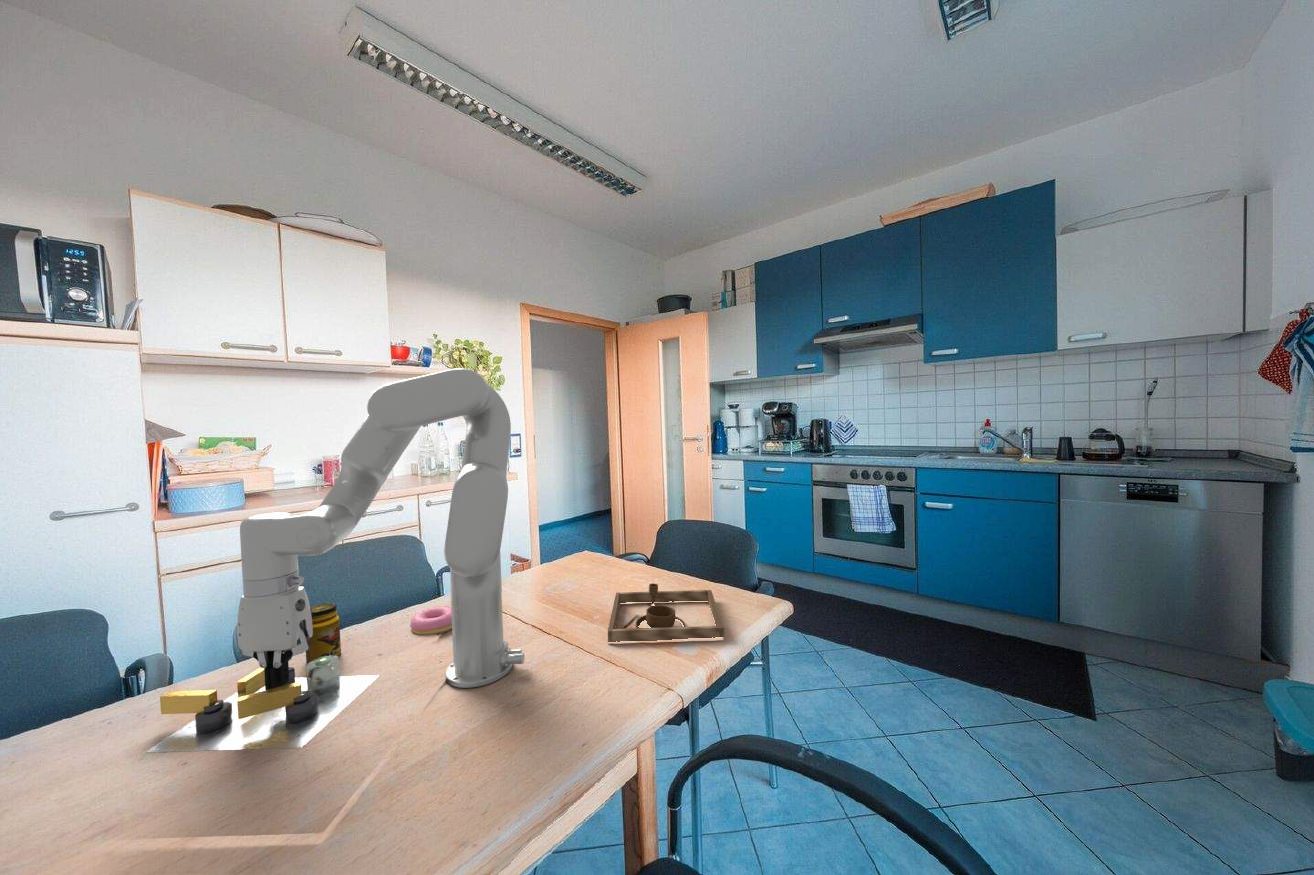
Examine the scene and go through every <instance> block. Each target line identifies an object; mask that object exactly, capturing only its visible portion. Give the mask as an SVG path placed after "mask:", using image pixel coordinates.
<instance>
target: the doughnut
mask: <svg viewBox="0 0 1314 875" xmlns="http://www.w3.org/2000/svg"><path fill="white" fill-rule="evenodd" d="M409 627H410V629H411V631H412V632H413V633H414V634H418V635H430V634H431V635H432V634H435V635H440V634H443V633H447V632H449V631H450V630H452V614H451V606H448V605H446V606H445V605H444V606H441V605H440V606H434V607H430V608H426V609H423V610H421V611H419V612H417V613H416V614H415V615H414V616H413V618H412V619H411V620H410V622H409Z"/></svg>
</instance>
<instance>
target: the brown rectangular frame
mask: <svg viewBox="0 0 1314 875" xmlns="http://www.w3.org/2000/svg"><path fill="white" fill-rule="evenodd" d="M714 597H715V596H714V594H713V591H712V590H711V589H695V590H691V589H690V590H689V589H688V590H663V591H659V590H658V593H657V595H655V598H654V599H655V602H669V601H672V602H674V601H708V602H709V603H708V602H707V603H708V606H709V605H710V607H709V609H710V608H711V610H710V612H711V611H712V613H711V615H712V614H713V617H714V620H715V623H714V625H708V626H707V625H705V626H704V625H702V626H699V625H698V626H685V627H682V626H676V627H675V626H672V627H665V628H636V627H633V628H624V629H622V628H616V629H615V626H616V627H617V623H616V621H617V622H618V618H617V616H619V612H618V610H619V611H620V607H619V605H620V603H626V602H651V599H652V595H650V594H649V591H629V592H628V591H625V592H621V591H620V592H615V595H614V601H613V605H612V610H611V615H610V620H609V623H608V627H607V628H608V629H607V643H608V642H616V641H617V642H620V641H657V640H672V639H688V638H712V637H713V638H715V637H724V638H725V626H724V624H723V621H722V617H721V615H720V612H719V609H718V606H717V603H716V599H715V598H714ZM620 606H621V605H620ZM713 617H712V618H713ZM714 620H713V621H714ZM715 624H716V626H715Z"/></svg>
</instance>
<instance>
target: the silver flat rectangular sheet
mask: <svg viewBox="0 0 1314 875" xmlns="http://www.w3.org/2000/svg"><path fill="white" fill-rule="evenodd" d="M305 670H306V676H305V677H295V683H296V682H300V681H301V687H302V691H310V693H316V694H317V695H318V711H317V712H316V713H315V714H314V715H313V716H311V717H309V718H307V719H305V720H302V721H299V722H293V723H290V722H287V721H286V715H285V707H283V708H279V709H275V710H272V711H268V712H265V713H261V714H257V715H254V716H250V717H246V718H243V719H239V720H238V706H237V701H238V691H237V692H235V693H233V694H231V696H229V697H227V698H225V699H224V700H223V701H224V702H230V703H232V714H233V719H232V721H231V722H230V723H228V724H227V725H225V726H224V727H222V728H219V729H217V730H214V731H211V732H207V733H197V732H196V722H195V719H194V720H192V721H190V722H189V723H188V724H186V725H185V726H183V727H181V728H180V729H178V730H177V731H175V732H174V733H172V734H170V735H169V736H167V737H166V738H164V739H162V740H161V741H159V743H157V744H155V745H153V746H152V747H151V748H149V749H148V750H146V751H144V753H173V752H175V753H176V752H177V753H179V752H180V753H181V752H204V751H205V752H206V751H207V752H210V751H235V750H236V751H237V750H239V751H240V750H241V751H243V750H270V749H271V750H272V749H300V748H303V747H305V746H306V744H308V742H310V741H311V740H312V739H313V738H314V737H315V736H316V735H317V734H318V733H319V732H321V731H322V729H324V728H325V727H326V726H327V725H328V724H329V723H330V722H331V721H332V720H333V719H334V718H335V717H337V716H338V715H339V714H340V713H341V712H342V711H343V710H344V709H345V708H346V707H347V706H348V705H350V703H352V702H353V701H354V700H355V699H356V698H357V697H358V696H359V695H361V693H362V692H363V691H365V690H366V689H367V688H368V687H369V686H370V685H371V684H372V683H373V682H374V681H375V680H377V678H379V677H380V676H381V675H379V674H377V675H374V674H373V675H351V676H350V675H349V676H347V675H344V676H341V673H340V672H341V670H340V657H338V656H323V657H320V658H318V659H316V660H313V661H312V662H310V663H309V664H307V663H306V667H305ZM261 691H265V686H264V687H263V688H261V689H260V690H258V691H257V692H261ZM257 692H255V693H257Z"/></svg>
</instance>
